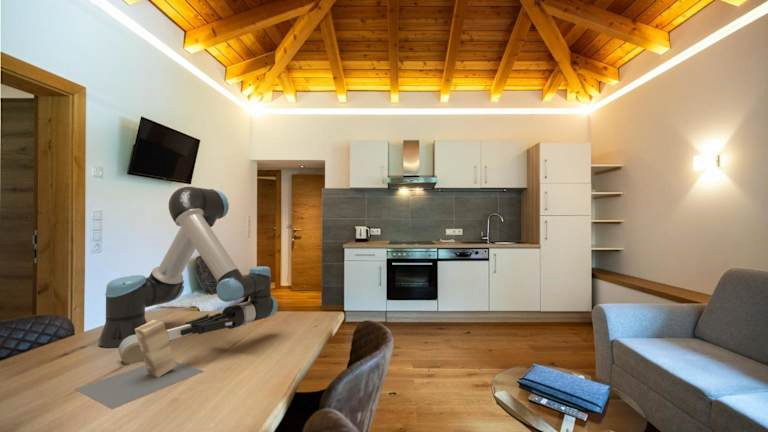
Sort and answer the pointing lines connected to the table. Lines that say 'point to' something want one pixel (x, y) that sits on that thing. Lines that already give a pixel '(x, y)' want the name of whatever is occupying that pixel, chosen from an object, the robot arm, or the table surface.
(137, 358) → the ceramic mug
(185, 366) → the felt mat
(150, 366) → the beech block
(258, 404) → the table surface
